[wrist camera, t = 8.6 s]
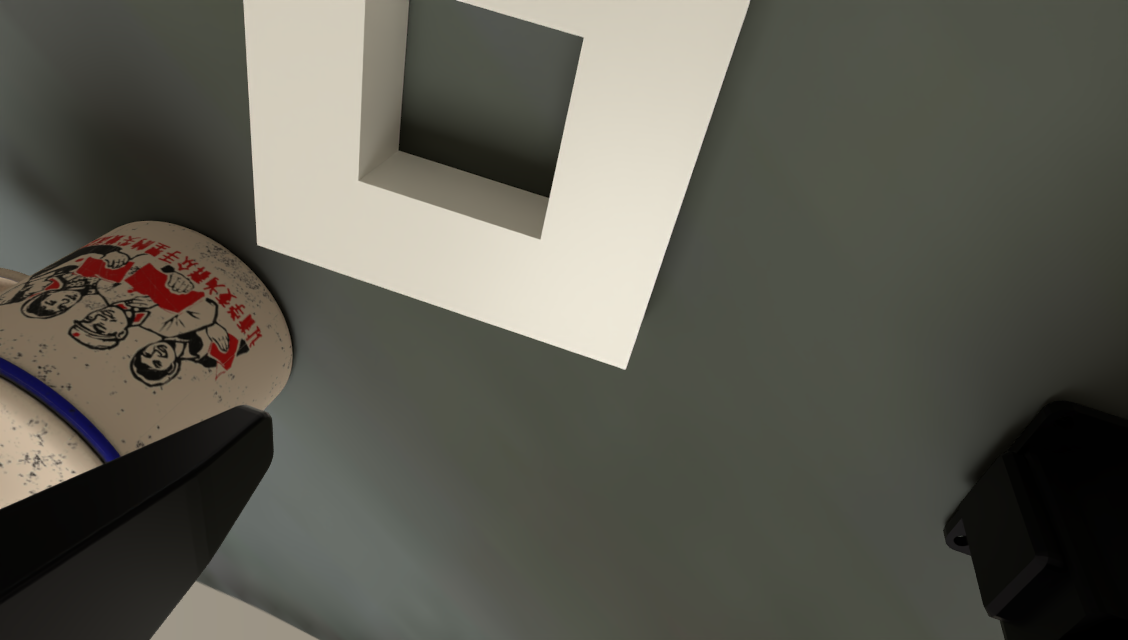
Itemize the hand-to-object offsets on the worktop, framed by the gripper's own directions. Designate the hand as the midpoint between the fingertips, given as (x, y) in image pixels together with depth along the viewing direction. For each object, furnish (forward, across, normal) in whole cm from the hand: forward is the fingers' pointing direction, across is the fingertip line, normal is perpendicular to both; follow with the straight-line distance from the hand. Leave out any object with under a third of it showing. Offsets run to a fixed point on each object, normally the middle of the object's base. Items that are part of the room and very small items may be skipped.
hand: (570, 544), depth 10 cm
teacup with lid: (+13, +18, +11) cm, 25 cm away
